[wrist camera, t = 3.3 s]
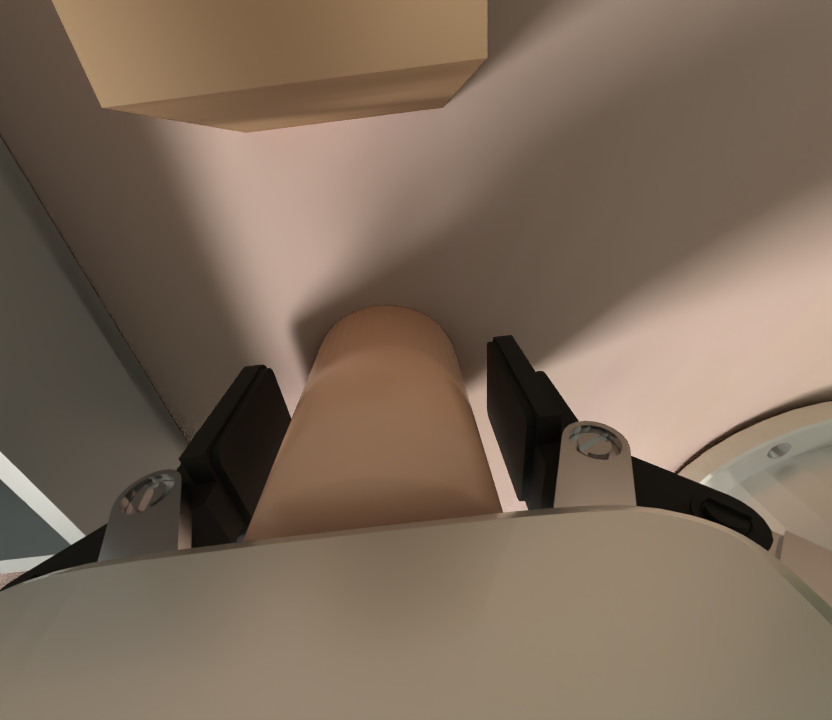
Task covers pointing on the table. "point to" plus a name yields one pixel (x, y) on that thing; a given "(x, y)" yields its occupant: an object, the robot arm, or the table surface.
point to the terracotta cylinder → (378, 434)
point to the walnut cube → (275, 57)
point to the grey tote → (63, 392)
